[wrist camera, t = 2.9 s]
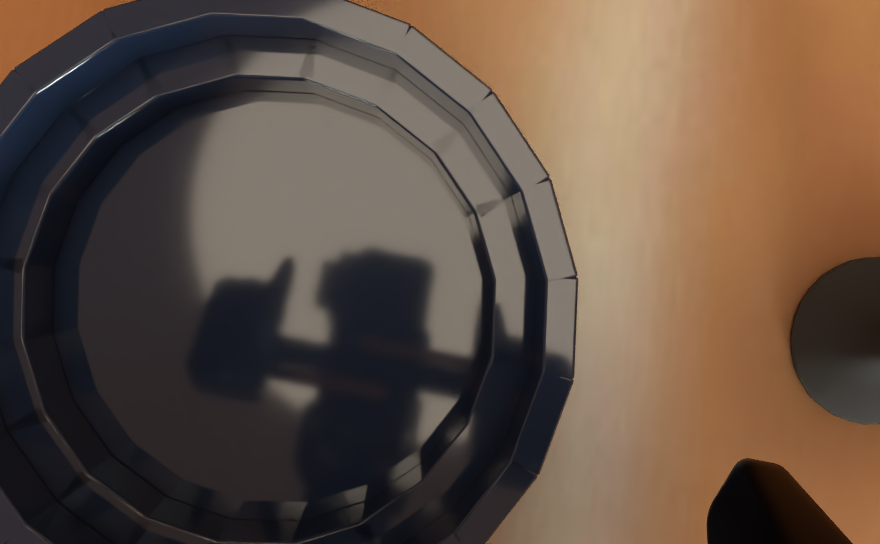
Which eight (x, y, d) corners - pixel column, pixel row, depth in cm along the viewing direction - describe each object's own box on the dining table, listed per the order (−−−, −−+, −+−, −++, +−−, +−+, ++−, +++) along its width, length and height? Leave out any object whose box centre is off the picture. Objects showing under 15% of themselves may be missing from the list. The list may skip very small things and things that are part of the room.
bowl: (535, 578, 24) (563, 649, 19) (-6, 567, 23) (-99, 638, 19) (557, 45, 23) (590, 0, 19) (6, 19, 23) (-85, -35, 18)
